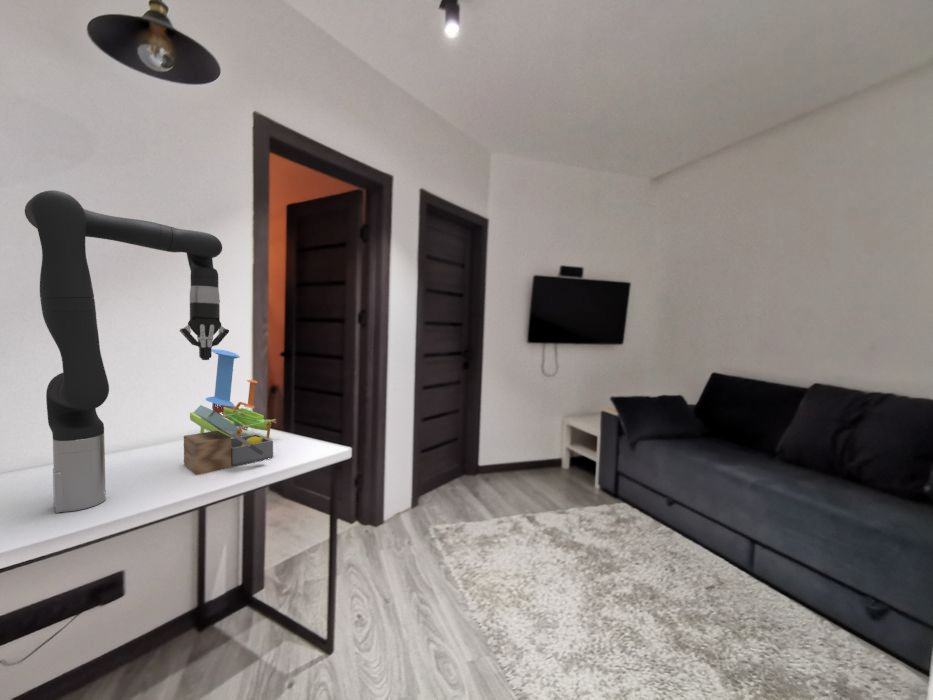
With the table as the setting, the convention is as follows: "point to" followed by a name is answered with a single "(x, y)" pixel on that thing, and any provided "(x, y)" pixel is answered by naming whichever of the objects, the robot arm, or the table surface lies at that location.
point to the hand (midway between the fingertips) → (205, 359)
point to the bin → (250, 451)
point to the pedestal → (207, 452)
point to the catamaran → (228, 408)
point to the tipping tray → (223, 425)
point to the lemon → (254, 440)
